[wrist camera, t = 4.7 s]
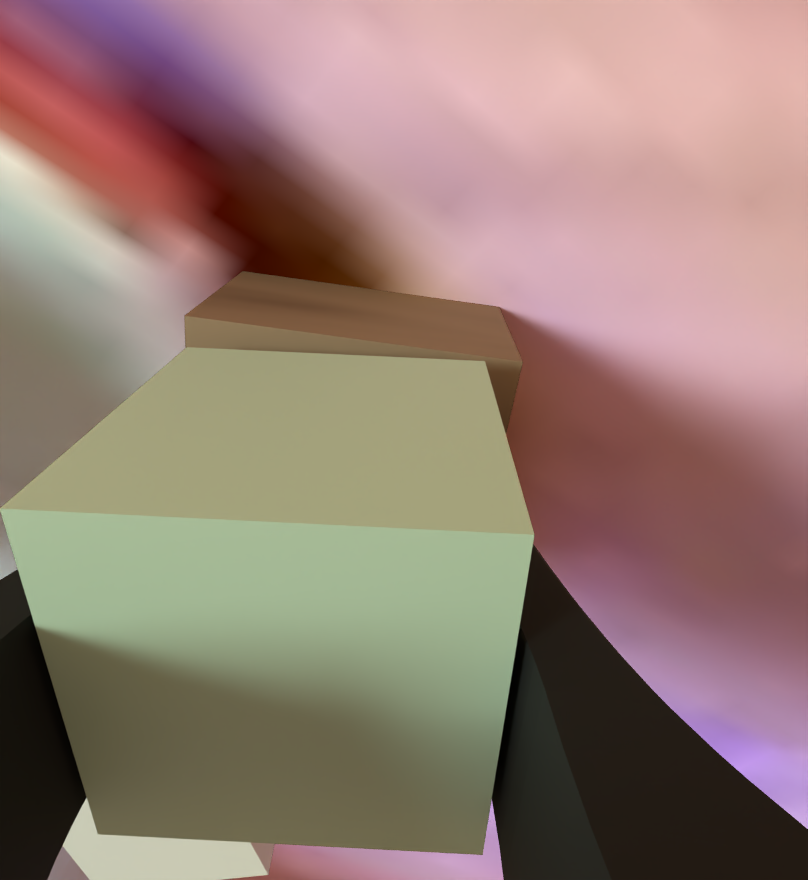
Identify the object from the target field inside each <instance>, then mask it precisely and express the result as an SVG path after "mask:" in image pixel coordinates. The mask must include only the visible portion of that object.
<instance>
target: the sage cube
mask: <svg viewBox="0 0 808 880" xmlns="http://www.w3.org/2000/svg"><path fill="white" fill-rule="evenodd" d="M0 512H1V515H2V519H3V522H4V525H5V528H6V532H7V535H8V538H9V542H10V545H11V548H12V552H13V555H14V558H15V562H16V565H17V568H18V572H19V575H20V578H21V581H22V585H23V588H24V591H25V595H26V598H27V601H28V605H29V608H30V611H31V615H32V618H33V621H34V625H35V628H36V631H37V634H38V638H39V641H40V644H41V648H42V651H43V654H44V658H45V661H46V664H47V668H48V671H49V674H50V678H51V681H52V684H53V687H54V691H55V694H56V697H57V701H58V704H59V707H60V711H61V714H62V717H63V721H64V724H65V727H66V730H67V734H68V737H69V740H70V744H71V747H72V750H73V754H74V757H75V760H76V764H77V767H78V770H79V774H80V777H81V780H82V783H83V787H84V790H85V793H86V797H87V800H88V803H89V807H90V810H91V813H92V817H93V820H94V823H95V827H96V830H97V833H98V834H100V835H119V836H138V837H157V838H175V839H194V840H213V841H232V842H251V843H270V844H288V845H307V846H326V847H345V848H364V849H382V850H401V851H420V852H439V853H458V854H477V855H483V849H484V842H485V836H486V830H487V824H488V818H489V812H490V805H491V799H492V793H493V787H494V781H495V775H496V768H497V762H498V756H499V750H500V744H501V738H502V732H503V725H504V719H505V713H506V707H507V701H508V695H509V688H510V682H511V676H512V670H513V664H514V658H515V652H516V645H517V639H518V633H519V627H520V621H521V615H522V608H523V602H524V596H525V590H526V584H527V578H528V571H529V565H530V559H531V553H532V547H533V541H534V531H533V528H532V524H531V521H530V517H529V514H528V510H527V507H526V503H525V500H524V496H523V493H522V489H521V486H520V482H519V479H518V475H517V472H516V468H515V465H514V461H513V458H512V454H511V451H510V447H509V444H508V440H507V437H506V433H505V430H504V426H503V423H502V419H501V416H500V412H499V409H498V405H497V402H496V398H495V395H494V391H493V388H492V384H491V381H490V377H489V374H488V370H487V367H486V363H485V361H472V360H450V359H429V358H408V357H386V356H365V355H343V354H322V353H300V352H279V351H257V350H236V349H215V348H193V347H187V348H185V349H184V350H183V351H182V352H181V353H180V354H178V355H177V356H176V357H175V358H174V359H173V360H172V361H170V362H169V363H168V364H167V365H166V366H165V367H163V368H162V369H161V370H160V371H159V372H158V373H156V374H155V375H154V376H153V377H152V378H151V379H149V380H148V381H147V382H146V383H145V384H144V385H142V386H141V387H140V388H139V389H138V390H137V391H136V392H134V393H133V394H132V395H131V396H130V397H129V398H127V399H126V400H125V401H124V402H123V403H122V404H120V405H119V406H118V407H117V408H116V409H115V410H113V411H112V412H111V413H110V414H109V415H108V416H107V417H105V418H104V419H103V420H102V421H101V422H100V423H98V424H97V425H96V426H95V427H94V428H93V429H91V430H90V431H89V432H88V433H87V434H86V435H84V436H83V437H82V438H81V439H80V440H79V441H77V442H76V443H75V444H74V445H73V446H72V447H71V448H69V449H68V450H67V451H66V452H65V453H64V454H62V455H61V456H60V457H59V458H58V459H57V460H55V461H54V462H53V463H52V464H51V465H50V466H48V467H47V468H46V469H45V470H44V471H43V472H42V473H40V474H39V475H38V476H37V477H36V478H35V479H33V480H32V481H31V482H30V483H29V484H28V485H26V486H25V487H24V488H23V489H22V490H21V491H19V492H18V493H17V494H16V495H15V496H14V497H12V498H11V499H10V500H9V501H8V502H7V503H6V504H4V505H3V506H2V507H1V508H0Z"/></svg>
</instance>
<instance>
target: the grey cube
mask: <svg viewBox="0 0 808 880" xmlns="http://www.w3.org/2000/svg"><path fill="white" fill-rule="evenodd" d="M274 845H275V844H270V843H251V842H232V841H213V840H194V839H175V838H157V837H138V836H119V835H100V834H98V833H97V830H96V827H95V823H94V820H93V817H92V813H91V810H90V807H89V803H88V800H87V798H86V800H85V802H84V804H83V805H82V807H81V809H80V811H79V813H78V815H77V817H76V819H75V821H74V823H73V825H72V827H71V829H70V831H69V833H68V835H67V837H66V839H65V842H64V844H63V847H64V848H65V850H66V851H67V852H68V853H69V855H70V856H71V857H72V858H73V860H74V861H75V862H76V863H77V865H78V866H79V867H80V868H81V870H82V871H83V872H84V873H85V875H86V876H87V877H88V878H89V880H222V879H232V878H242V877H252V876H262V875H268V874H269V869H270V865H271V860H272V855H273V850H274Z"/></svg>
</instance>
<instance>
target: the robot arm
mask: <svg viewBox="0 0 808 880" xmlns="http://www.w3.org/2000/svg"><path fill="white" fill-rule="evenodd" d="M86 798H87V797H86V793H85V790H84V787H83V783H82V780H81V777H80V774H79V770H78V767H77V764H76V760H75V757H74V754H73V750H72V747H71V744H70V740H69V737H68V734H67V730H66V727H65V724H64V721H63V717H62V714H61V711H60V707H59V704H58V701H57V697H56V694H55V691H54V687H53V684H52V681H51V678H50V674H49V671H48V668H47V664H46V661H45V658H44V654H43V651H42V648H41V644H40V641H39V638H38V634H37V631H36V628H35V625H34V621H33V618H32V615H31V611H30V608H29V605H28V601H27V598H26V595H25V591H24V588H23V585H22V581H21V578H20V575H19V572H18V570H16V571H14V572H13V573H11V574H9V575H8V576H6V577H4V578H3V579H1V580H0V880H89V878H88V877H87V876H86V875H85V873H84V872H83V871H82V870H81V868H80V867H79V866H78V865H77V863H76V862H75V861H74V860H73V858H72V857H71V856H70V855H69V853H68V852H67V851H66V850H65V848H64V847H63V844H64V842H65V839H66V837H67V835H68V833H69V831H70V829H71V827H72V825H73V823H74V821H75V819H76V817H77V815H78V813H79V811H80V809H81V807H82V805H83V804H84V802H85V800H86ZM492 802H493V808H494V815H495V821H496V827H497V833H498V839H499V845H500V853H501V861H502V869H503V877H504V880H808V829H807V828H805V827H804V826H803V825H802V824H801V823H799V822H798V821H797V820H796V819H795V818H793V817H792V816H791V815H790V814H789V813H787V812H786V811H785V810H784V809H783V808H781V807H780V806H779V805H778V804H777V803H775V802H774V801H773V800H772V799H771V798H769V797H768V796H767V795H766V794H765V793H763V792H762V791H761V790H760V789H759V788H757V787H756V786H755V785H754V784H753V783H751V782H750V781H749V780H748V779H747V778H746V777H744V776H743V775H742V774H741V773H740V772H739V771H738V770H736V769H735V768H734V767H733V766H732V765H731V764H730V763H729V762H727V761H726V760H725V759H724V758H723V757H722V756H721V755H720V754H718V753H717V752H716V751H715V750H714V749H713V748H712V747H711V746H710V745H709V744H708V743H707V742H706V741H705V740H703V739H702V738H701V737H700V736H699V735H698V734H697V733H696V732H695V731H694V730H693V729H692V728H691V727H690V726H689V725H688V724H687V723H685V722H684V721H683V720H682V719H681V718H680V717H679V716H678V715H677V714H676V713H675V712H674V711H673V710H672V709H671V708H670V707H669V706H668V705H667V704H666V703H665V702H664V701H663V700H662V699H661V698H660V697H659V696H658V695H657V694H656V693H655V692H654V691H653V690H652V689H651V688H650V687H649V686H648V685H647V684H646V682H645V681H644V680H643V679H642V678H641V677H640V676H639V675H638V674H637V673H636V671H635V670H634V669H633V668H632V667H631V666H630V665H629V664H628V663H627V662H626V661H625V659H624V658H623V657H622V656H621V655H620V654H619V653H618V652H617V650H616V649H615V648H614V647H613V646H612V645H611V643H610V642H609V641H608V640H607V639H606V638H605V637H604V635H603V634H602V633H601V632H600V630H599V629H598V628H597V627H596V626H595V624H594V623H593V622H592V621H591V619H590V618H589V617H588V616H587V615H586V613H585V612H584V611H583V610H582V609H581V607H580V606H579V605H578V604H577V602H576V601H575V600H574V598H573V597H572V596H571V595H570V593H569V592H568V591H567V589H566V588H565V587H564V585H563V584H562V583H561V581H560V580H559V579H558V577H557V576H556V575H555V573H554V572H553V571H552V569H551V568H550V567H549V565H548V564H547V563H546V561H545V560H544V558H543V557H542V556H541V554H540V553H539V551H538V550H537V549H536V547H535V546H534V544H533V547H532V553H531V559H530V565H529V571H528V578H527V584H526V590H525V596H524V602H523V608H522V615H521V621H520V627H519V633H518V639H517V645H516V652H515V658H514V664H513V670H512V676H511V682H510V688H509V695H508V701H507V707H506V713H505V719H504V725H503V732H502V738H501V744H500V750H499V756H498V762H497V768H496V775H495V781H494V787H493V793H492Z"/></svg>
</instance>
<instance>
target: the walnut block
mask: <svg viewBox="0 0 808 880" xmlns="http://www.w3.org/2000/svg"><path fill="white" fill-rule="evenodd" d="M185 346H186V348H187V347H193V348H215V349H236V350H257V351H279V352H300V353H322V354H343V355H365V356H386V357H408V358H429V359H450V360H472V361H485V363H486V367H487V370H488V374H489V377H490V381H491V384H492V388H493V391H494V395H495V398H496V402H497V405H498V409H499V412H500V416H501V419H502V423H503V426H504V430H505V433H506V432H507V428H508V423H509V419H510V415H511V411H512V406H513V402H514V398H515V393H516V389H517V385H518V381H519V376H520V372H521V368H522V363H523V361H522V359H521V356H520V354H519V352H518V349H517V347H516V345H515V343H514V340H513V338H512V336H511V333H510V331H509V329H508V326H507V324H506V322H505V319H504V317H503V315H502V312H501V310H500V308H499V307H496V306H489V305H482V304H475V303H467V302H460V301H453V300H446V299H438V298H431V297H424V296H417V295H410V294H402V293H395V292H388V291H381V290H374V289H366V288H359V287H352V286H345V285H337V284H330V283H323V282H316V281H309V280H301V279H294V278H287V277H280V276H273V275H265V274H258V273H251V272H244V271H243V272H241V273H240V274H239V275H237V276H236V277H235V278H233V279H232V280H231V281H229V282H228V283H227V284H226V285H224V286H223V287H222V288H220V289H219V290H218V291H216V292H215V293H214V294H212V295H211V296H210V297H208V298H207V299H206V300H204V301H203V302H202V303H201V304H199V305H198V306H197V307H195V308H194V309H193V310H191V311H190V312H189V313H187V314H186V315H185Z"/></svg>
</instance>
